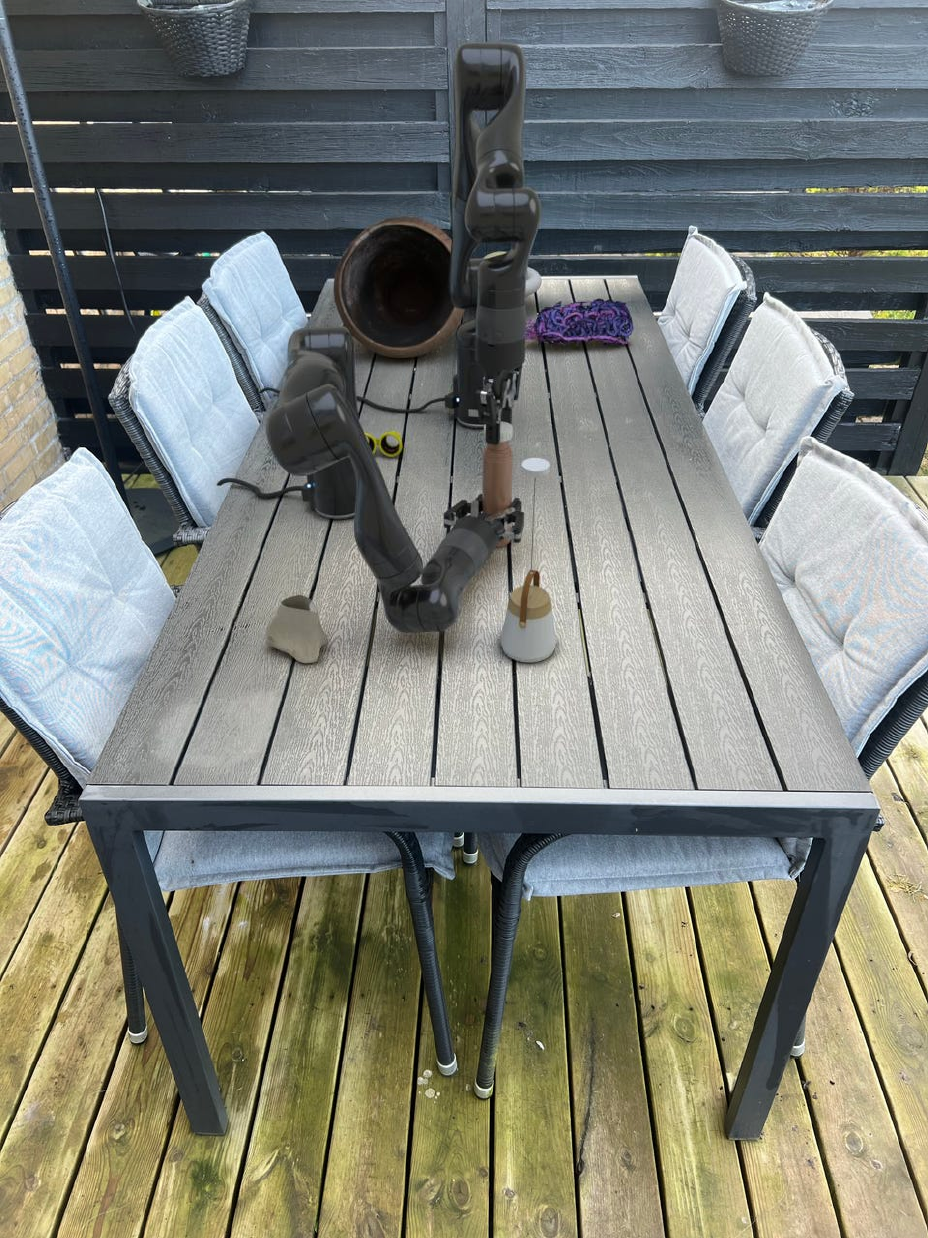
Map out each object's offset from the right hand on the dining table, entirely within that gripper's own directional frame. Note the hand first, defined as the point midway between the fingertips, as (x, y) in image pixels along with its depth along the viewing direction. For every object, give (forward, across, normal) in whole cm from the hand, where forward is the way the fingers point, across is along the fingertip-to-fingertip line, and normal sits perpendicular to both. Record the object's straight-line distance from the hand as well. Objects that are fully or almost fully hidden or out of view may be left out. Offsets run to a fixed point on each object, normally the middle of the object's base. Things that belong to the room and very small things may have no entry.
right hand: (498, 435), depth 149 cm
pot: (+20, -78, -55) cm, 97 cm away
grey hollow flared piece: (+20, +40, -16) cm, 47 cm away
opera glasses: (+20, -21, -34) cm, 44 cm away
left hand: (+13, -3, 0) cm, 13 cm away
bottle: (+20, 0, 0) cm, 20 cm away
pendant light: (+20, +25, +15) cm, 36 cm away
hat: (+20, -108, -42) cm, 117 cm away
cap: (-1, 0, 0) cm, 1 cm away
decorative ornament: (+20, -90, -16) cm, 93 cm away
